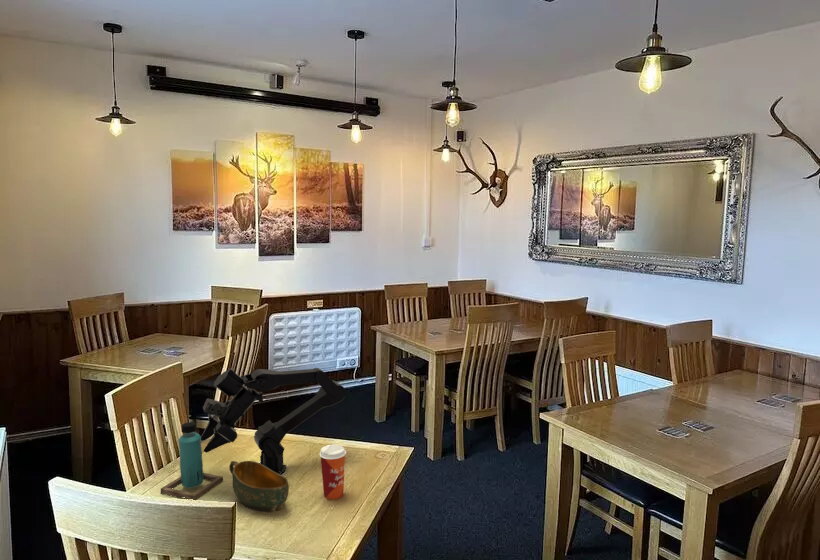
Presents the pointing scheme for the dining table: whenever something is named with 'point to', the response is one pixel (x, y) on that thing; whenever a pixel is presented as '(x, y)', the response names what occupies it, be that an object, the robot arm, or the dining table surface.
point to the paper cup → (333, 470)
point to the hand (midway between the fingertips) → (202, 445)
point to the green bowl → (258, 486)
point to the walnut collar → (215, 481)
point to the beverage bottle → (190, 456)
